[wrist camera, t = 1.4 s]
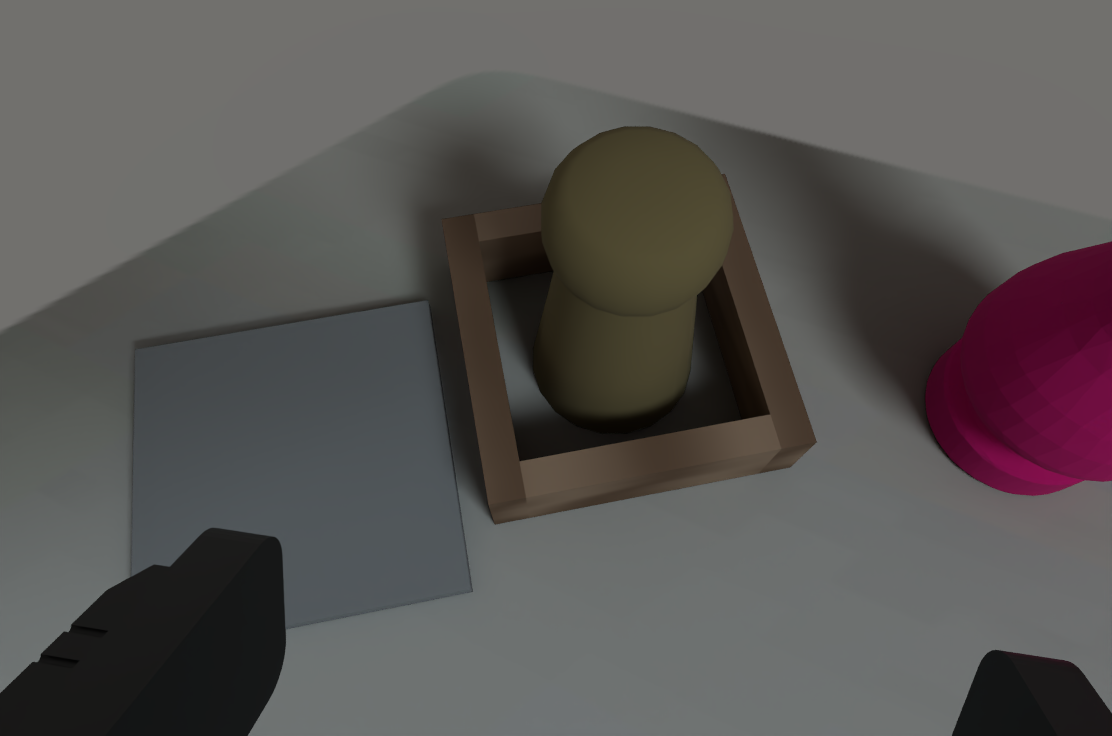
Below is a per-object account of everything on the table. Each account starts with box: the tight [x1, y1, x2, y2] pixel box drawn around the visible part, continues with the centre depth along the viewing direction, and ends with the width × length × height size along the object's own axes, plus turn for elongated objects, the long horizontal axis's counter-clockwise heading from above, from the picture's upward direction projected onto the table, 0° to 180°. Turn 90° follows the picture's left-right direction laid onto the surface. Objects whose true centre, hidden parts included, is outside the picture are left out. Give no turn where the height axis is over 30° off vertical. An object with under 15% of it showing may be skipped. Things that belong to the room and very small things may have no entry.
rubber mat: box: [131, 300, 473, 629], centre depth 28 cm, size 11×11×1 cm
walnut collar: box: [442, 174, 817, 524], centre depth 28 cm, size 11×11×3 cm
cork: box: [533, 127, 734, 433], centre depth 25 cm, size 6×6×11 cm
